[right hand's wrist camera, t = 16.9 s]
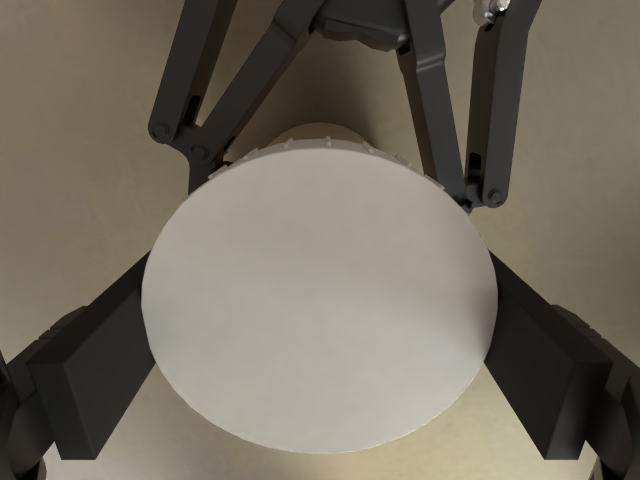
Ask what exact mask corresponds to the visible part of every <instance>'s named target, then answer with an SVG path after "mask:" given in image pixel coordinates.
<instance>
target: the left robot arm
mask: <svg viewBox="0 0 640 480" xmlns="http://www.w3.org/2000/svg"><path fill="white" fill-rule="evenodd" d="M237 1H238V0H185V4H184V7H183V10H182V14H181V17H180V20H179V24H178V27H177V30H176V34H175V37H174V40H173V44H172V47H171V50H170V54H169V57H168V60H167V64H166V67H165V70H164V74H163V77H162V80H161V84H160V87H159V90H158V94H157V97H156V100H155V104H154V107H153V110H152V114H151V117H150V120H149V124H148V131H149V134H150V136H151V137H152V139H153V140H155V141H156V142H158V143H161V144H165V143H166V144H168V145H169V146H171V147H173V148H175V149H176V150H178V151H180V152H181V153H183V154H184V155H185V156H186V158H187V160H188V162H189V165H190V174H189V189H188V195H190V194H191V193H192V192H194V191H195V190H197V189H198V188H199V187H200V186H202V185H203V184H204V183H206V182H207V181H209V180H210V179H209V178H208V176H210V175H211V174H213V173H214V172H215V171H217V170H218V169H220V168H221V167H223V166H224V165H227V167H228V166H230V165H231V164H233V163H234V162H229V161H224V162H223V157H224V155H225V154H226V153H228V151H227V150H228V149H229V147H230V146H231V145H232V143H233V142H234V140H235V139H236V138H237V136H238V135H239V134H240V132H241V131H242V129H243V128H244V127H245V125H246V124H247V122H248V121H249V120H250V118H251V117H252V116H253V114H254V113H255V111H256V110H257V109H258V107H259V106H260V104H261V103H262V102H263V100H264V99H265V98H266V96H267V95H268V93H269V92H270V91H271V89H272V88H273V86H274V85H275V84H276V82H277V81H278V80H279V78H280V77H281V75H282V74H283V73H284V71H285V70H286V68H287V67H288V66H289V64H290V63H291V62H292V60H293V59H294V57H295V56H296V55H297V53H298V52H299V51H300V50H301V49H302V48H303V47H304V46H305V44H306V43H307V41H308V40H309V39H310V37H311V36H312V35H313V33H314V32H315V30H317V31H318V32H319V33H321V34H323V38H328V39H332V40H337V41H346V40H358V41H360V42H362V43H363V44H365V45H367V46H369V47H370V48H372V49H377V50H381V51H386V52H388V51H390V50H392V49H396V54H397V59H398V63H399V67H400V70H401V72H402V74H403V76H404V81H405V85H406V90H407V95H408V99H409V104H410V109H411V114H412V118H413V123H414V128H415V133H416V137H417V142H418V147H419V151H420V156H421V161H422V166H423V170H424V175H425V174H427V175H428V176H429V177H431V178H432V179H434V180H435V181H436V182H438V183H439V184H441V185H442V186H443V187H445V188H444V190H443V191H445V192H446V193H447V194H448V195H449V196H450V197H451V198H452V199H453V200H454V201H455V202H456V203H457V204H458V205H459V206H460V207H461V208H462V209H463V210H464V211H465V212H467V213H468V214H470V213H471V212H472V209H473V208H475V207H482V206H487V207H489V208H496V207H499V206H501V205H502V204H503V203H504V202H505V201H506V199H507V196H508V189H509V181H510V173H511V165H512V157H513V149H514V141H515V133H516V125H517V117H518V109H519V101H520V93H521V85H522V77H523V69H524V61H525V53H526V45H527V37H528V31H529V29H530V26H531V24H532V22H533V19H534V17H535V15H536V13H537V10H538V8H539V6H540V3H541V1H542V0H474V9H473V18H474V21H475V22H476V23H477V25H479V26H480V28H479V31H478V35H477V39H476V43H475V51H474V61H473V73H472V86H471V99H470V111H469V124H468V137H467V149H466V162H465V174H464V176H463V170H462V165H461V159H460V153H459V147H458V142H457V136H456V130H455V124H454V118H453V113H452V107H451V101H450V95H449V89H448V84H447V78H446V72H445V66H444V60H445V56H446V49H445V42H444V36H443V30H442V24H441V18H440V14H441V13H442V12H443V11H444V10H445V9H446V8H447V7H448V6H449V5H451V4H452V3H453V2H454V1H455V0H284V1H283V3H282V4H281V6H280V7H279V9H278V10H277V12H276V14H275V16H274V18H273V21H272V23H271V25H270V27H269V28H268V30H267V31H266V33H265V34H264V36H263V37H262V39H261V40H260V41H259V43H258V44H257V46H256V47H255V49H254V50H253V52H252V53H251V55H250V56H249V58H248V59H247V61H246V62H245V63H244V65H243V66H242V68H241V69H240V71H239V72H238V74H237V75H236V77H235V78H234V80H233V81H232V83H231V84H230V86H229V87H228V88H227V90H226V91H225V93H224V94H223V96H222V97H221V99H220V100H219V102H218V103H217V105H216V106H215V108H214V109H213V110H212V112H211V113H210V115H209V116H208V118H207V119H206V121H205V122H204V124H203V125H202V127H200V126H198V125H196V124H195V122H196V119H197V116H198V114H199V111H200V108H201V105H202V102H203V99H204V96H205V93H206V90H207V87H208V85H209V82H210V79H211V76H212V73H213V70H214V67H215V64H216V61H217V59H218V56H219V53H220V50H221V47H222V44H223V41H224V38H225V35H226V32H227V30H228V27H229V24H230V21H231V18H232V15H233V12H234V9H235V6H236V3H237Z"/></svg>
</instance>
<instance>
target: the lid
mask: <svg viewBox="0 0 640 480" xmlns="http://www.w3.org/2000/svg"><path fill="white" fill-rule="evenodd" d="M208 178H209V179H210V180H209V181H207V182H206V183H204V184H203V185H202V186H200V187H199V188H198V189H197V190H195V191H194V192H192V193H191V194H190V195H188V196H187V197H186V198H184V199H183V200H182V201H181V202H180V205H179V207H178V208H177V209H176V210H175V212H174V213H173V214H172V215H171V217H170V218H169V219H168V220H167V222H166V223H165V224H164V226H163V228H162V230H161V231H160V233H159V235H158V237H157V238H156V240H155V242H154V244H153V247H152V249H151V252H150V255H149V257H148V260H147V263H146V267H145V272H144V277H143V281H142V294H141V307H142V313H143V318H144V323H145V327H146V332H147V337H148V342H149V346H150V350H151V352H152V354H153V357H154V359H155V361H156V363H157V365H158V367H159V368H160V370H161V372H162V373H163V375H164V377H165V378H166V380H167V381H168V382H169V383H170V385H171V386H172V387H173V389H174V390H175V391H176V392H177V394H178V395H179V396H180V397H181V398H182V399H183V400H184V401H185V402H186V403H187V404H188V405H189V406H190V407H191V408H193V409H194V410H195V411H197V412H198V413H199V414H200V415H202V416H203V417H204V418H205V419H207V420H208V421H210V422H212V423H213V424H215V425H216V426H218V427H220V428H221V429H223V430H225V431H227V432H229V433H231V434H233V435H235V436H237V437H239V438H242V439H244V440H247V441H250V442H252V443H255V444H258V445H261V446H265V447H269V448H273V449H277V450H283V451H289V452H295V453H309V454H331V453H343V452H351V451H357V450H362V449H366V448H371V447H375V446H378V445H381V444H384V443H387V442H390V441H393V440H395V439H398V438H400V437H402V436H404V435H407V434H409V433H411V432H413V431H414V430H416V429H418V428H420V427H421V426H423V425H425V424H427V423H428V422H430V421H431V420H432V419H434V418H435V417H436V416H438V415H439V414H441V413H442V412H443V411H444V410H445V409H446V408H448V407H449V406H450V405H451V404H452V403H453V402H454V401H455V400H456V399H457V398H458V397H459V396H460V395H461V394H462V392H463V391H464V390H465V389H466V388H467V387H468V385H469V384H470V383H471V381H472V380H473V378H474V377H475V375H476V374H477V372H478V371H479V369H480V368H481V365H482V363H483V361H484V359H485V357H486V355H487V353H488V351H489V348H490V344H491V340H492V336H493V331H494V326H495V321H496V316H497V311H498V289H497V282H496V276H495V270H494V267H493V264H492V260H491V257H490V254H489V251H488V249H487V247H486V245H485V243H484V241H483V239H482V237H481V235H480V233H479V231H478V229H477V228H476V226H475V225H474V224H473V222H472V221H471V219H470V218H469V214H468V213H467V212H465V211H464V210H463V209H462V208H461V207H460V206H459V205H458V204H457V203H456V202H455V201H454V200H453V199H452V198H451V197H450V196H449V195H448V194H447V193H446V192H445V191H443V190H444V188H445V187H443V186H442V185H441V184H439V183H438V182H436V181H435V180H434V179H432V178H431V177H429V176H428V175H427V174H425V175H424V176H423V175H422V174H421V173H419V172H418V171H417V170H415V169H414V168H412V164H410V163H409V162H407V161H406V160H405V159H403V158H402V157H400V156H399V155H396V157H394V156H392V155H390V154H389V153H386V152H383V151H381V150H378V149H375V148H373V147H371V146H369V145H368V144H367V143H366V142H363V143H362V144H359V143H354V142H350V141H345V140H334V139H330V136H326V139H302V140H296V141H293V138H290V139H289V140H288V141H287V142H285V143H279V144H276V145H273V146H270V147H267V148H264V149H261V150H258V148H255V149H253V150H252V151H251V152H249V153H248V154H247V155H245V156H244V157H243V158H241V159H239V160H237V161H236V162H234V163H233V164H231V165H230V166H228V167H227V165H224V166H223V167H221V168H220V169H218V170H217V171H215V172H214V173H213V174H211V175H210V176H208Z"/></svg>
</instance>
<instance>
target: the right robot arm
mask: <svg viewBox="0 0 640 480" xmlns="http://www.w3.org/2000/svg"><path fill="white" fill-rule="evenodd" d="M488 251H489V250H488ZM150 252H151V250H150V251H149V252H148V253H147V254H146V255H145V256H144V257H142V258H141V259H140V260H139V261H138V262H137V263H136V264H135V265H133V266H132V267H131V268H130V269H129V270H128V271H127V272H126V273H124V274H123V275H122V276H121V277H120V278H119V279H118V280H117V281H116V282H114V283H113V284H112V285H111V286H110V287H109V288H108V289H107V290H105V291H104V292H103V293H102V294H101V295H100V296H99V297H98V298H96V299H95V300H94V301H93V302H92V303H91V304H90V305H89V306H82V307H80V308H78V309H76V310H74V311H72V312H70V313H69V314H67V315H65V316H63V317H62V318H61V319H60V320H59V321H57V322H56V323H55V324H54V325H53V326H51V327H50V330H47V331H46V332H44V333H43V334H42V335H41V336H40V337H39V339H38V340H35V341H34V342H33V343H31V344H30V345H29V346H28V347H27V348H26V349H24V350H23V351H22V352H21V353H20V354H18V355H17V356H16V357H15V358H14V359H13V360H11V361H10V362H9V363H8V364H7V365H6V363H5V361H4V358H3V356H2V353H1V351H0V480H46V472H47V471H46V465H45V462H44V459H43V457H42V456H43V455H44V454H45V453H46V451H47V450H48V449H49V447H50V446H51V445H52V444H53V442H54V441H55V444H56V446H57V449H58V452H59V454H60V457H61V460H95V459H96V458H97V456H98V454H99V453H100V451H101V450H102V448H103V446H104V445H105V443H106V442H107V440H108V438H109V437H110V435H111V434H112V432H113V430H114V429H115V427H116V426H117V424H118V422H119V421H120V419H121V418H122V416H123V414H124V413H125V411H126V410H127V408H128V406H129V405H130V403H131V401H132V400H133V398H134V397H135V395H136V393H137V392H138V390H139V389H140V387H141V385H142V384H143V382H144V381H145V379H146V377H147V376H148V374H149V373H150V371H151V369H152V368H153V366H154V365H155V363H156V361H155V359H154V357H153V354H152V352H151V350H150V346H149V342H148V337H147V332H146V327H145V323H144V318H143V313H142V307H141V294H142V281H143V277H144V272H145V267H146V263H147V260H148V257H149V255H150ZM489 254H490V257H491V260H492V264H493V267H494V270H495V276H496V282H497V289H498V311H497V316H496V321H495V326H494V331H493V336H492V340H491V344H490V348H489V351H488V353H487V355H486V357H485V359H484V361H483V362H484V363H485V365H486V367H487V368H488V370H489V372H490V373H491V375H492V376H493V378H494V380H495V381H496V383H497V384H498V386H499V388H500V389H501V391H502V392H503V394H504V396H505V397H506V399H507V400H508V402H509V404H510V405H511V407H512V408H513V410H514V412H515V413H516V415H517V417H518V418H519V420H520V421H521V423H522V425H523V426H524V428H525V429H526V431H527V433H528V434H529V436H530V437H531V439H532V441H533V442H534V444H535V445H536V447H537V449H538V450H539V452H540V453H541V455H542V457H543V458H544V460H578V458H579V456H580V453H581V450H582V448H583V445H584V442H585V440H586V441H587V442H588V443H589V445H590V446H591V447H592V448H593V450H594V451H595V452H596V454H597V455H598V457H597V459H596V462H595V464H594V467H593V469H592V472H591V474H590V477H589V480H640V368H639V367H638V366H636V365H635V364H634V363H633V362H632V361H631V360H629V359H628V358H627V357H626V356H625V355H623V354H622V353H621V352H620V351H619V350H617V349H616V348H615V347H614V346H613V345H611V344H610V343H609V342H608V341H607V340H606V339H604V338H601V335H600V334H598V333H597V332H596V331H595V330H594V329H590V326H589V325H588V324H587V323H585V322H584V321H583V320H582V319H581V318H579V317H578V316H577V315H576V314H574V313H572V312H570V311H568V310H566V309H564V308H562V307H561V306H559V305H550V304H549V303H548V302H546V301H545V300H544V299H543V298H542V297H541V296H540V295H539V294H538V293H536V292H535V291H534V290H533V289H532V288H531V287H530V286H529V285H527V284H526V283H525V282H524V281H523V280H522V279H521V278H520V277H518V276H517V275H516V274H515V273H514V272H513V271H512V270H511V269H510V268H508V267H507V266H506V265H505V264H504V263H503V262H502V261H501V260H499V259H498V258H497V257H496V256H495V255H494V254H493V253H492V252H491V251H489Z"/></svg>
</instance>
